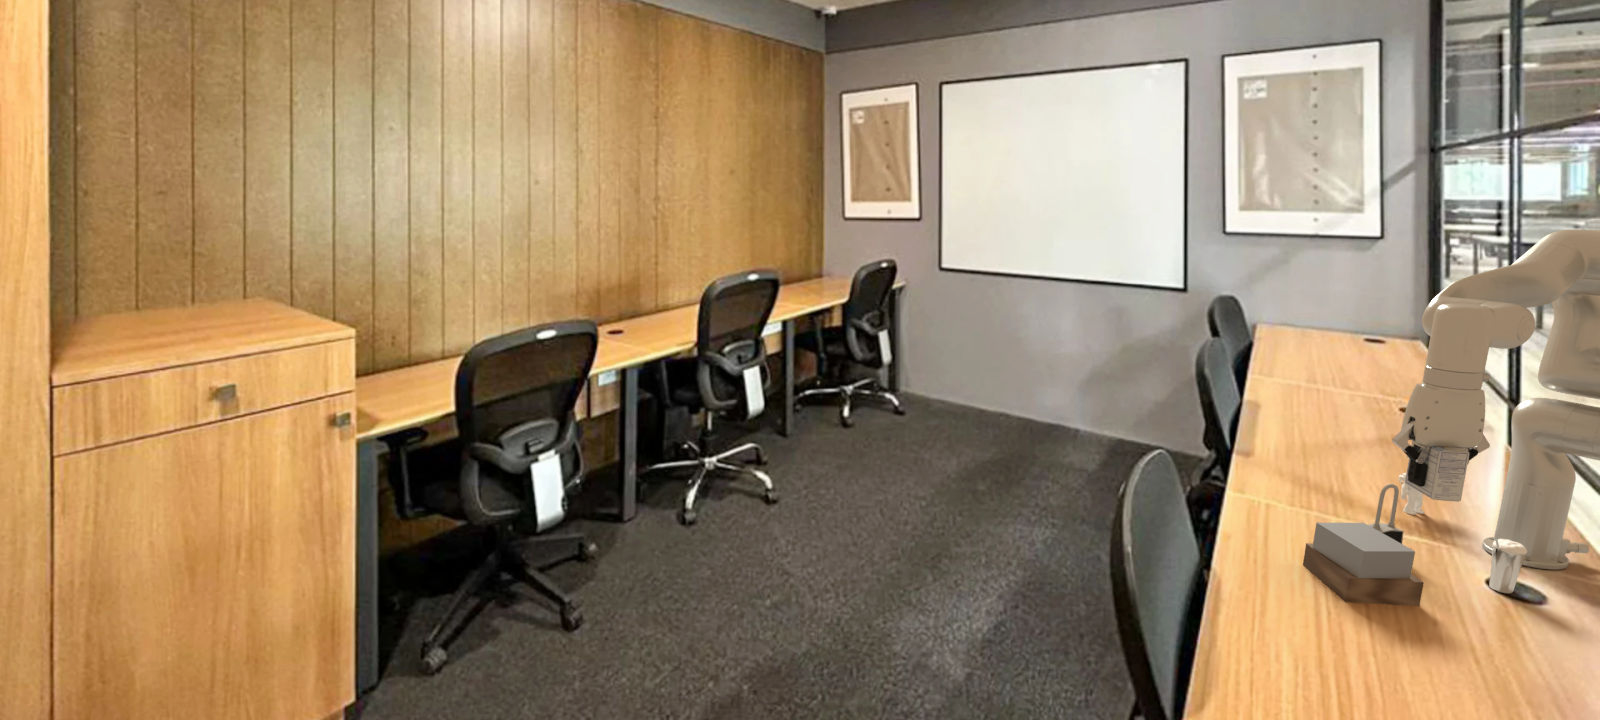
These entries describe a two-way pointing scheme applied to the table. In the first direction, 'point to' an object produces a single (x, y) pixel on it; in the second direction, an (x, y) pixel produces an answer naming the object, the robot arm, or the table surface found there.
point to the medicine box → (1444, 473)
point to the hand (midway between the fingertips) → (1432, 483)
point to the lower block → (1362, 583)
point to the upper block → (1363, 550)
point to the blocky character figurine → (1411, 497)
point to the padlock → (1390, 527)
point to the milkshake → (1506, 564)
